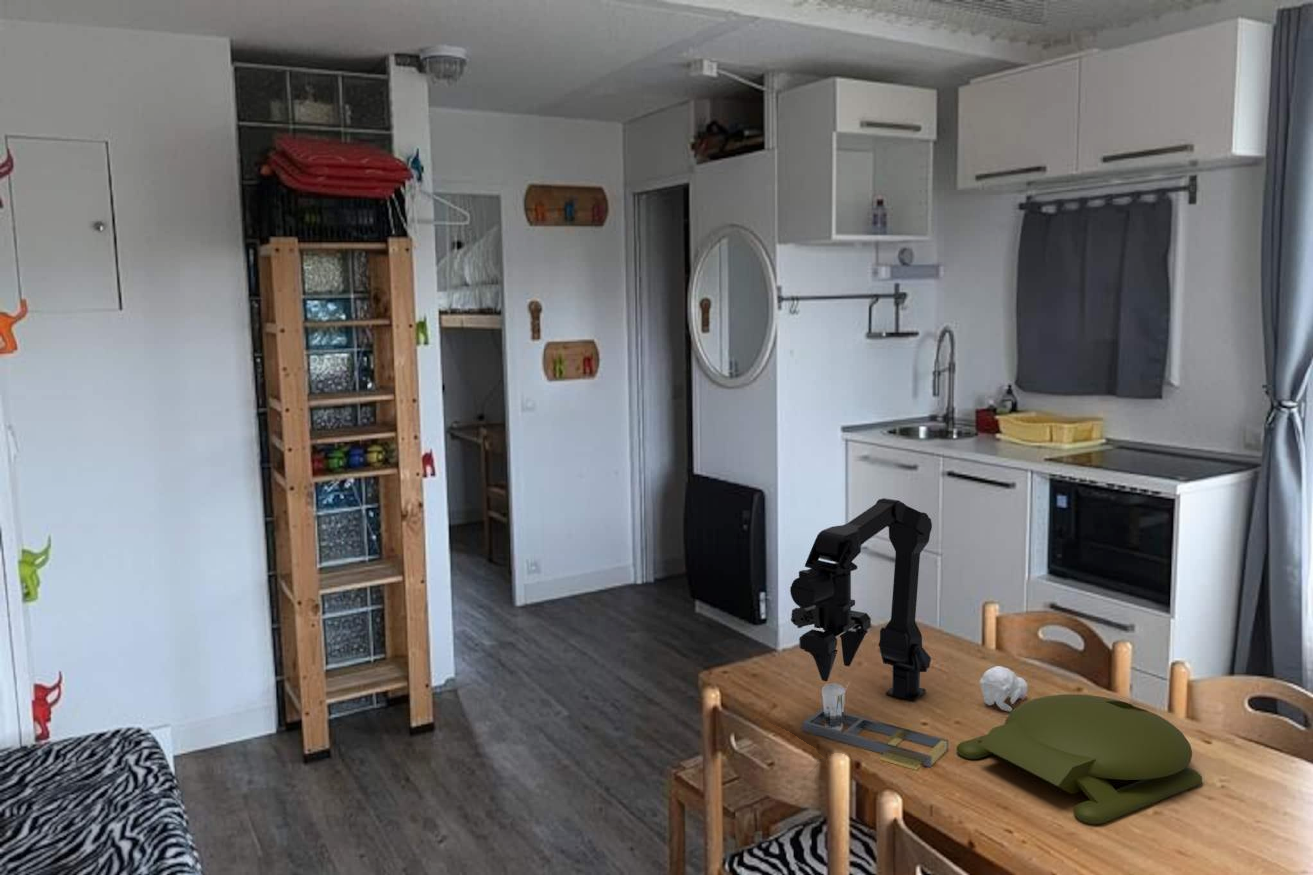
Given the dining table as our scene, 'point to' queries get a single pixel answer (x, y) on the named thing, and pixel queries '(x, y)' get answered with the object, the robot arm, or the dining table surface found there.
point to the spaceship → (1093, 751)
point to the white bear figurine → (1002, 687)
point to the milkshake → (833, 705)
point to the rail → (887, 748)
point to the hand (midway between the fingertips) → (836, 673)
